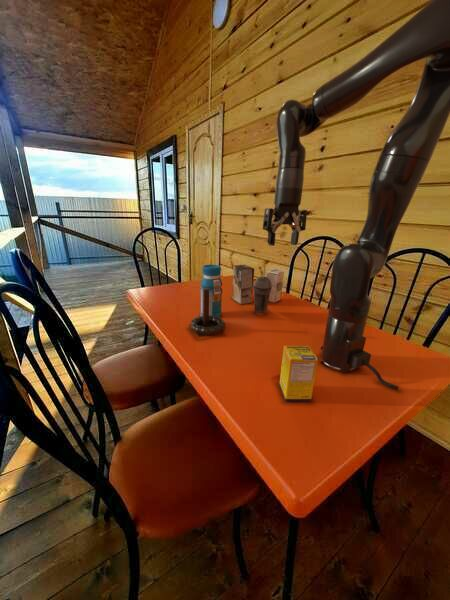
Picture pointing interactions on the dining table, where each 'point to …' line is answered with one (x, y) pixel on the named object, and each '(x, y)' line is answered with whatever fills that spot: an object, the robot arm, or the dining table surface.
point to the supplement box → (298, 373)
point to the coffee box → (243, 284)
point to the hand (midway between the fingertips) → (282, 245)
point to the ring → (207, 330)
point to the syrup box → (275, 284)
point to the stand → (205, 312)
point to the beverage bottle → (212, 289)
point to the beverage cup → (261, 293)
